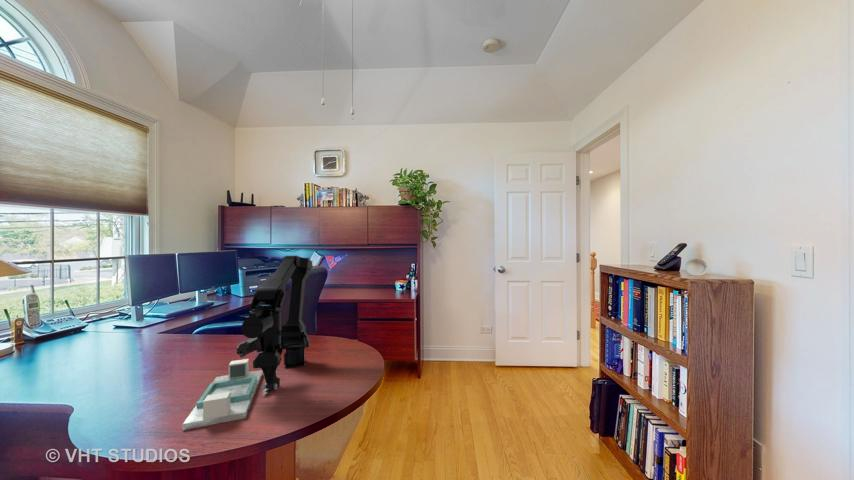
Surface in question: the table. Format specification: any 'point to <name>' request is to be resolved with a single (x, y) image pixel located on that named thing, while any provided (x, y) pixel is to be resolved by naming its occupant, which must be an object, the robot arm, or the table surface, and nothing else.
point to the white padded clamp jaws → (222, 401)
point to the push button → (272, 383)
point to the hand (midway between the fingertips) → (270, 379)
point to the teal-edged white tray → (240, 399)
